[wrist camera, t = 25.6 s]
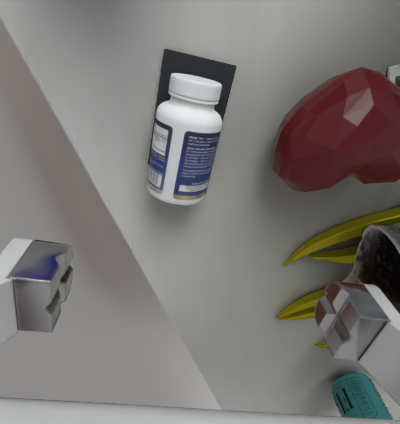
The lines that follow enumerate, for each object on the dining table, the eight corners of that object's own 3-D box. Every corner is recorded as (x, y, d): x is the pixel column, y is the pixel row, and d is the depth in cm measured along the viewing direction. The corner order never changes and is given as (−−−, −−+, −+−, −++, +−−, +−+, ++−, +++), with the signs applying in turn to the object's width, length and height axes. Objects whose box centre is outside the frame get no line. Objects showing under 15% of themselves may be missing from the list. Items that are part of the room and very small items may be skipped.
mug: (528, 287, 23) (392, 309, 23) (448, 338, 32) (352, 353, 33) (447, 192, 29) (340, 211, 29) (400, 259, 39) (320, 273, 39)
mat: (164, 48, 25) (164, 48, 25) (235, 65, 26) (236, 66, 26) (148, 162, 30) (147, 164, 29) (208, 173, 31) (208, 175, 30)
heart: (265, 64, 25) (261, 169, 31) (297, 94, 19) (285, 217, 25) (409, 46, 25) (377, 154, 31) (487, 70, 19) (429, 198, 25)
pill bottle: (209, 189, 30) (235, 84, 25) (197, 213, 25) (227, 91, 21) (157, 174, 31) (173, 68, 26) (136, 195, 26) (151, 71, 21)
